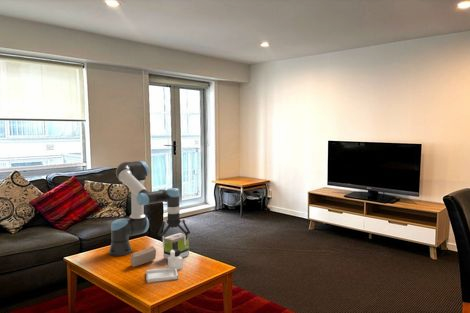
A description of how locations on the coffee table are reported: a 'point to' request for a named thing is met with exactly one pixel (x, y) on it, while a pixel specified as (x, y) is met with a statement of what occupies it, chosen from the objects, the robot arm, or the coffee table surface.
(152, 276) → the tray
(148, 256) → the brick
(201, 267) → the coffee table surface
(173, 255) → the medicine bottle
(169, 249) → the tea box
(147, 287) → the coffee table surface
